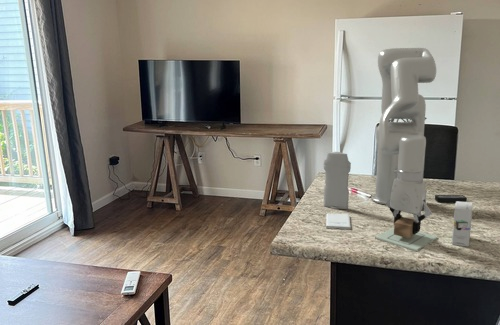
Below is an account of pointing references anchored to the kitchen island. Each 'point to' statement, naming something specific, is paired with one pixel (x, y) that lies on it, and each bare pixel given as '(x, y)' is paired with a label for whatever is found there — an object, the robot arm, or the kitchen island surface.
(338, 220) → the external hard drive
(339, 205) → the tall pale column
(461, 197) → the multiport hub
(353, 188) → the kitchen island surface
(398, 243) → the mat
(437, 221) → the kitchen island surface
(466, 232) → the ink box
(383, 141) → the robot arm
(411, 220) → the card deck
